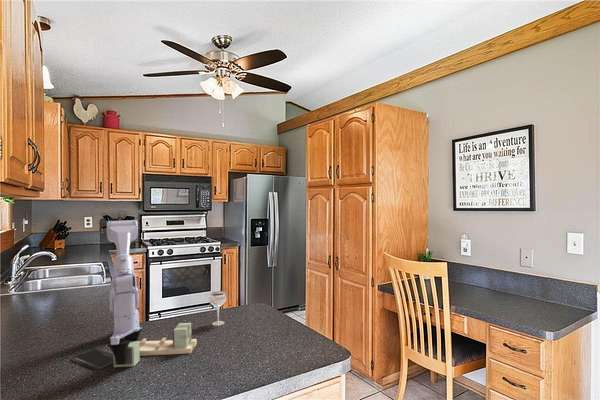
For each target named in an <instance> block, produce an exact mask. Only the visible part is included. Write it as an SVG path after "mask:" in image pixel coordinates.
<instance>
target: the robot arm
mask: <svg viewBox="0 0 600 400" xmlns="http://www.w3.org/2000/svg"><path fill="white" fill-rule="evenodd" d="M138 225H139V224H138V220H137V219H131V220H128V219H127V220H108V221H107V222H106V238H107V240H108V242H109V243H110V242H111V243H114V244H115V246H116V247H115V248H116V257H115V258H114V259H113V277H112V279H111V289H110V292H109V311H110V313H113V325H114V328H113V334H112V335H111V336H110V337H109V342H108V343H107V344H108V345H107V346H108V347H109V348H110V349H111V351H112V353H113V354H114V356H115V359H116V362H117V365H121V364H125V362H126V355H127V348H128V345H129V343H130V342H131V341H139V338H140V336H141V333H142V329H143V327H140V313H139V310H138V309H139V307H140V293H139V288H138V286H137V277H136V276H137V275H136V273H135V268H134V267H135V266H134V258H133V257H132V256H131V255H130V249H131V248H130V246H131V243H132V242H134V241H136V240H137V238H138V235H139V226H138Z"/></svg>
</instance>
